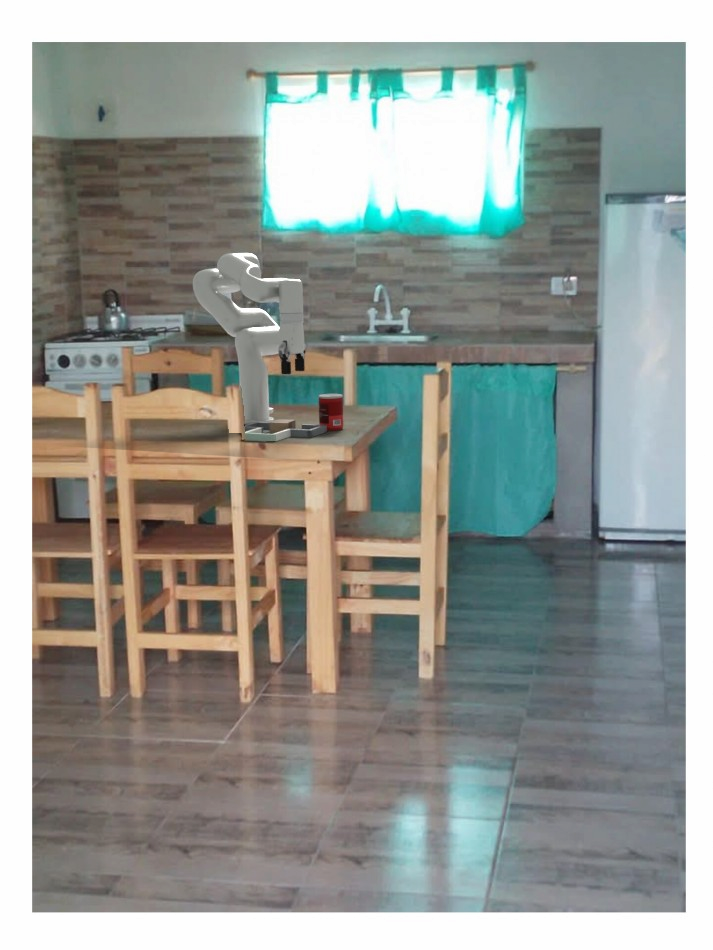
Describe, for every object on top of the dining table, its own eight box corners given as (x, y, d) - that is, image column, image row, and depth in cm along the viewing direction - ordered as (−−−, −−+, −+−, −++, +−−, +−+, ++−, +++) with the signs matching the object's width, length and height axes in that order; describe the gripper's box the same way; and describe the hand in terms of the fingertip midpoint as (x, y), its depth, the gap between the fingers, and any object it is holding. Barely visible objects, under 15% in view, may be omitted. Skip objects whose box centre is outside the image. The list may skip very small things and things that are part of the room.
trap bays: (256, 428, 406) (256, 421, 405) (326, 431, 396) (326, 425, 395) (239, 433, 396) (239, 426, 395) (311, 437, 386) (310, 430, 385)
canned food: (346, 427, 404) (345, 393, 402) (339, 431, 397) (338, 396, 395) (323, 427, 407) (322, 393, 404) (316, 430, 399) (315, 396, 397)
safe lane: (258, 434, 393) (258, 427, 392) (290, 436, 388) (290, 429, 388) (241, 440, 383) (240, 433, 382) (274, 441, 378) (273, 434, 378)
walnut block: (278, 431, 400) (277, 419, 399) (295, 432, 398) (295, 419, 397) (269, 434, 393) (269, 422, 393) (287, 435, 392) (287, 423, 391)
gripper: (293, 316, 406) (295, 369, 409) (268, 320, 391) (269, 375, 394) (314, 316, 403) (315, 370, 406) (289, 320, 388) (291, 375, 391)
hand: (293, 372), depth 400 cm, fingers open, 9 cm apart
